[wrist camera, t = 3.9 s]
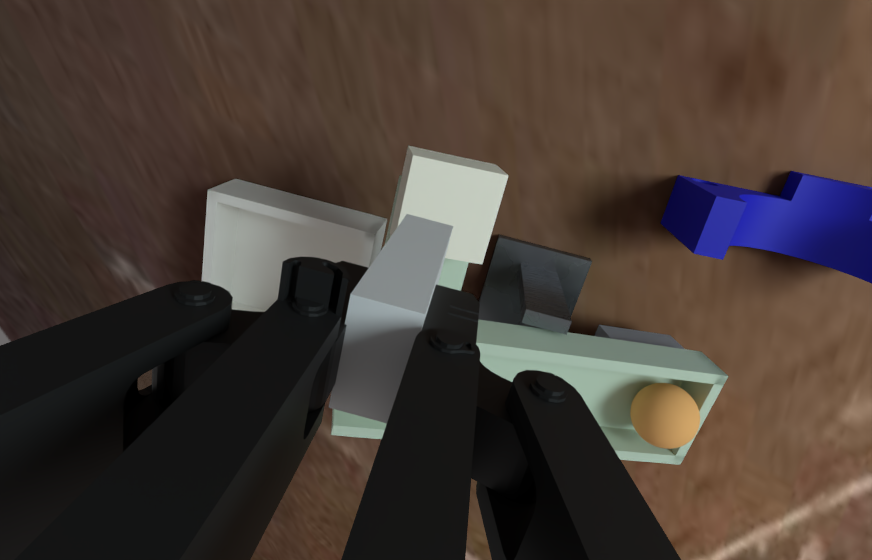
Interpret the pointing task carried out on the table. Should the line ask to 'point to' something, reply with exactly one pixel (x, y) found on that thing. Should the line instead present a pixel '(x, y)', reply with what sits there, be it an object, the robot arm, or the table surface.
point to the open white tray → (277, 238)
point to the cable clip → (777, 220)
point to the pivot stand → (532, 285)
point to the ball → (665, 415)
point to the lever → (534, 347)
